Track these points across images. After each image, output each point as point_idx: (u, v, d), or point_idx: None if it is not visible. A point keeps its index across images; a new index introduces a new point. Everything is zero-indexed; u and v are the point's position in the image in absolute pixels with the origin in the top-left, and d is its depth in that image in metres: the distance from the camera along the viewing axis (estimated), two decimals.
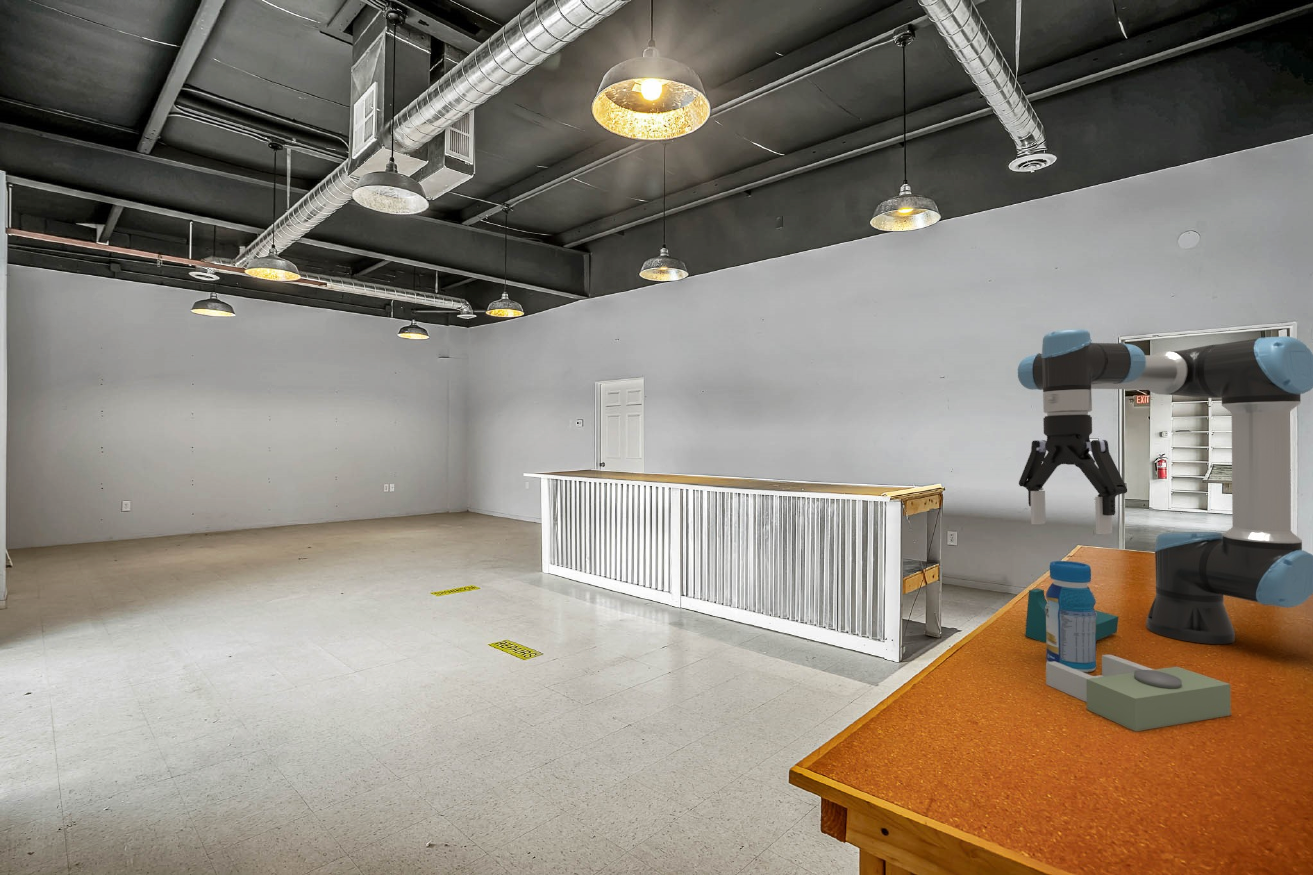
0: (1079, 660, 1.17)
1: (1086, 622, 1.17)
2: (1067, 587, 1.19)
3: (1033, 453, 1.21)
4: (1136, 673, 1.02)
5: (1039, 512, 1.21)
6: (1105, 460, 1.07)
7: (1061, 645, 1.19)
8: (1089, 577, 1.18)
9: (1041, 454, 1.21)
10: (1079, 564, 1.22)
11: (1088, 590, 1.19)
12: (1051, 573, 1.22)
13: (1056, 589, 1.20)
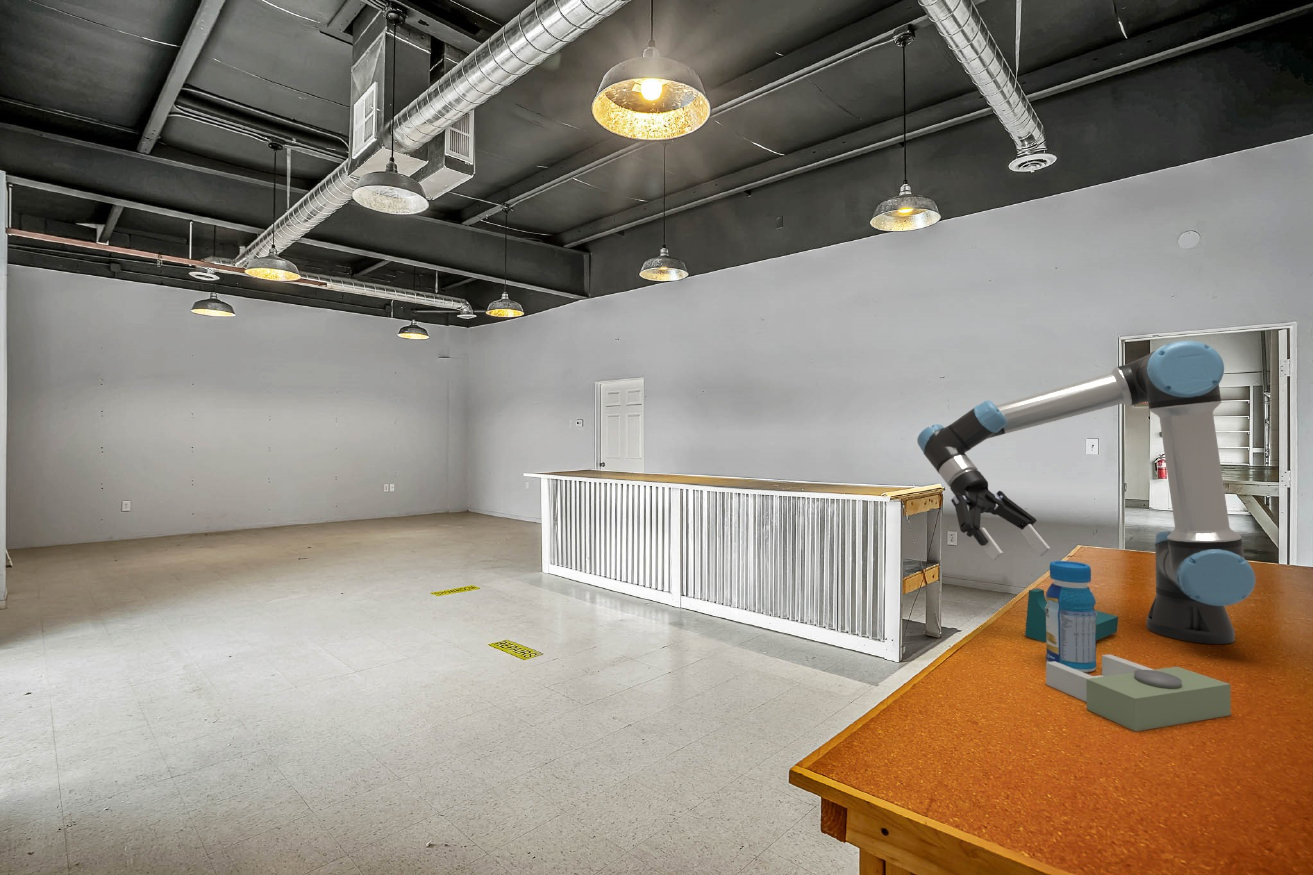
0: (1079, 660, 1.17)
1: (1086, 622, 1.17)
2: (1067, 587, 1.19)
3: None
4: (1136, 673, 1.02)
5: (1036, 543, 1.35)
6: (958, 509, 1.37)
7: (1061, 645, 1.19)
8: (1089, 577, 1.18)
9: (1003, 502, 1.42)
10: (1079, 564, 1.22)
11: (1088, 590, 1.19)
12: (1051, 573, 1.22)
13: (1056, 589, 1.20)
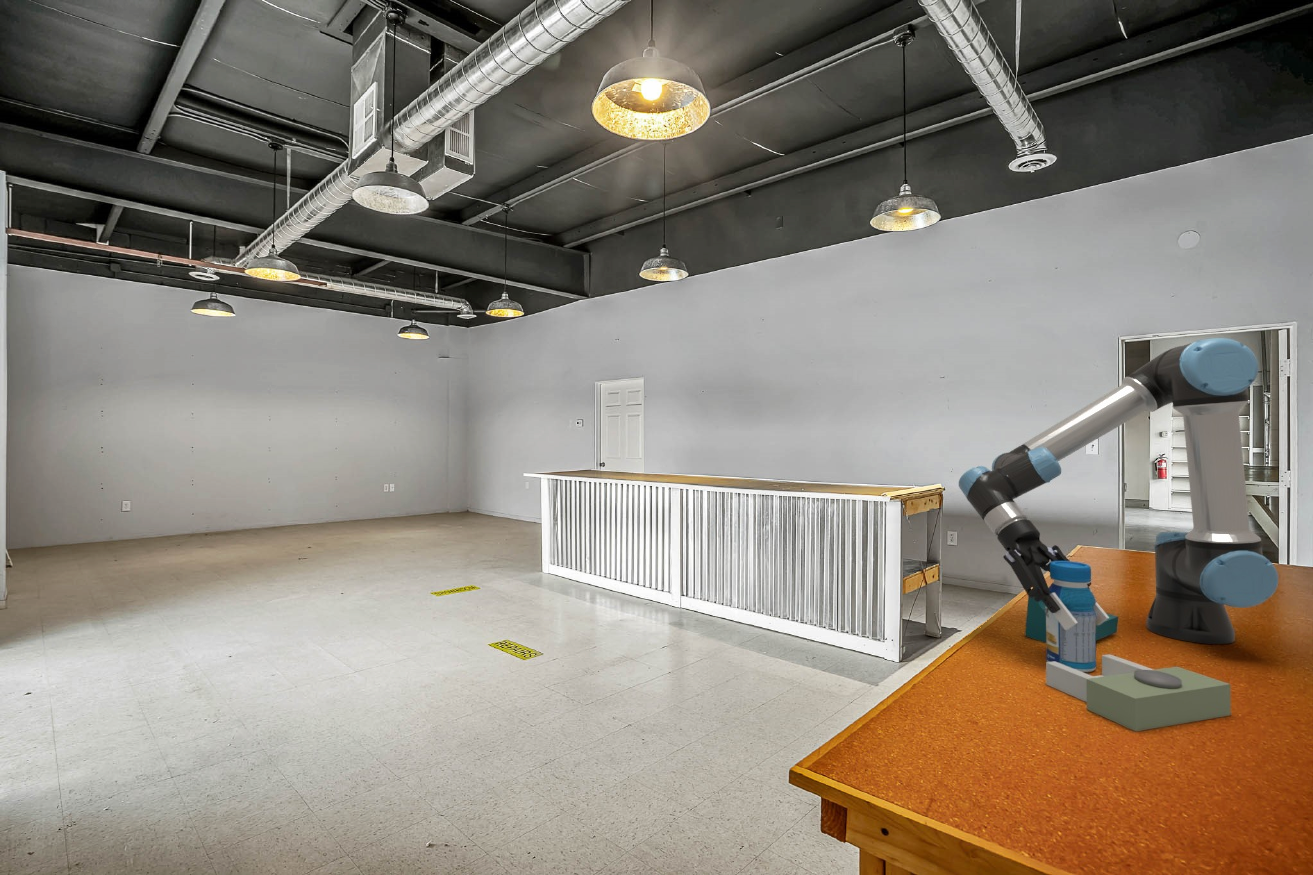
0: (1079, 659, 1.17)
1: (1086, 622, 1.17)
2: (1067, 587, 1.19)
3: None
4: (1136, 673, 1.02)
5: None
6: (1016, 569, 1.25)
7: (1061, 645, 1.19)
8: (1089, 577, 1.18)
9: (1057, 558, 1.29)
10: (1079, 564, 1.22)
11: (1088, 590, 1.19)
12: (1051, 573, 1.22)
13: (1056, 589, 1.20)
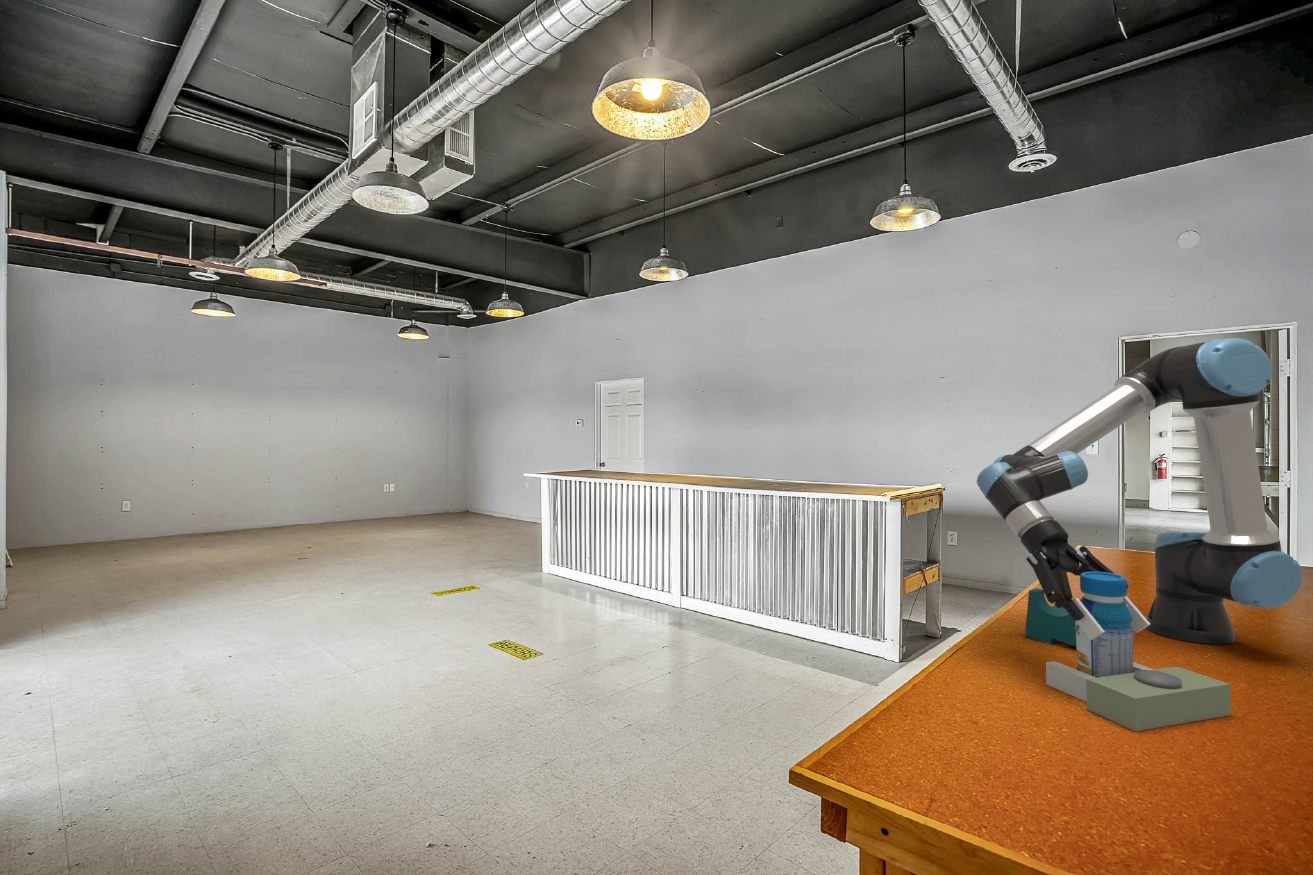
0: None
1: (1123, 641, 1.05)
2: (1101, 602, 1.07)
3: None
4: (1136, 673, 1.02)
5: None
6: (1038, 572, 1.13)
7: (1094, 666, 1.07)
8: (1125, 590, 1.06)
9: (1087, 561, 1.18)
10: (1113, 575, 1.10)
11: (1124, 605, 1.07)
12: (1082, 586, 1.10)
13: (1088, 604, 1.08)
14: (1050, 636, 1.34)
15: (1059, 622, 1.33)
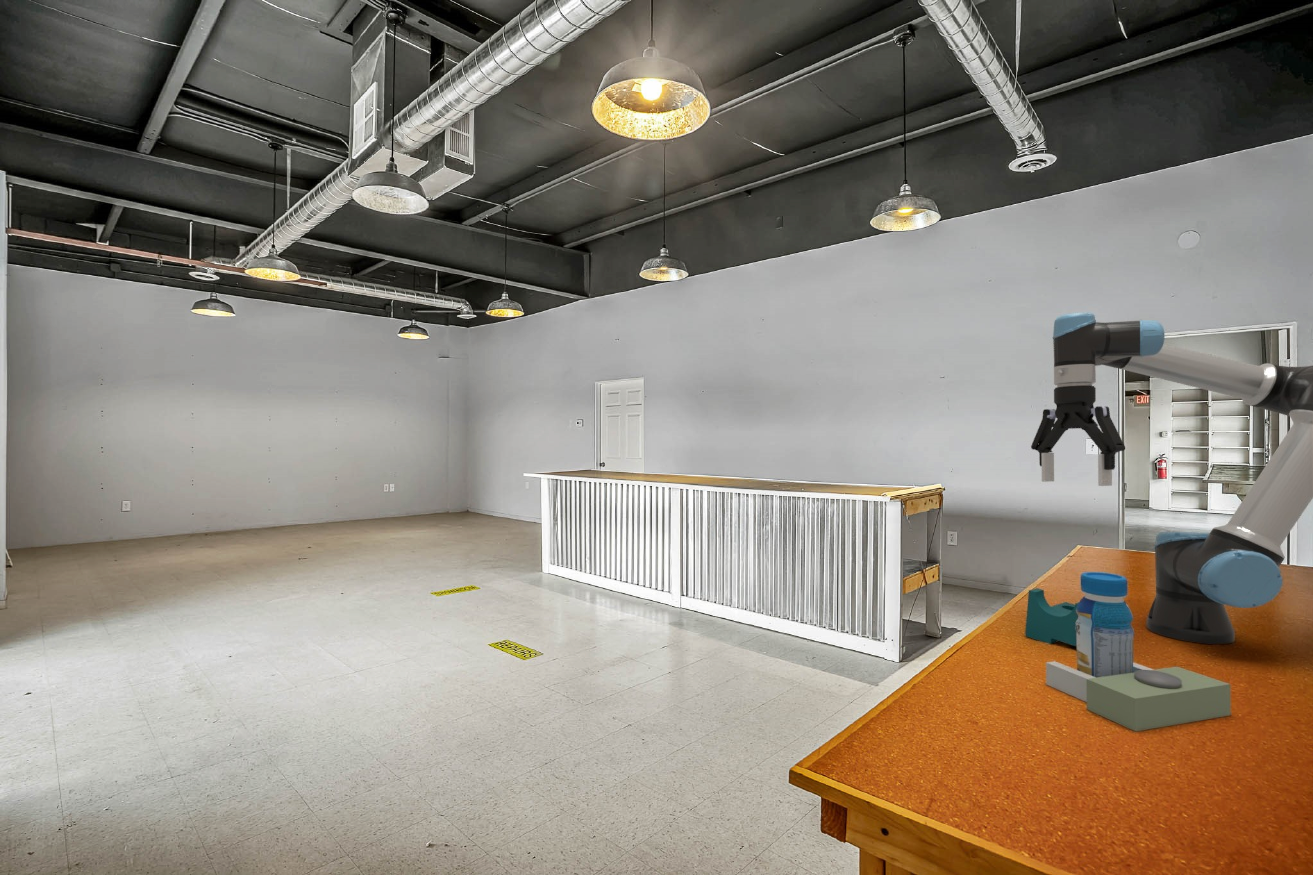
0: None
1: (1123, 641, 1.05)
2: (1101, 601, 1.07)
3: (1044, 420, 1.40)
4: (1136, 673, 1.02)
5: (1049, 471, 1.40)
6: (1107, 423, 1.27)
7: (1094, 666, 1.07)
8: (1126, 590, 1.07)
9: (1051, 421, 1.40)
10: (1113, 576, 1.10)
11: (1124, 605, 1.07)
12: (1082, 586, 1.10)
13: (1089, 603, 1.09)
14: (1050, 636, 1.34)
15: (1059, 622, 1.33)
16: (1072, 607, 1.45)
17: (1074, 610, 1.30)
